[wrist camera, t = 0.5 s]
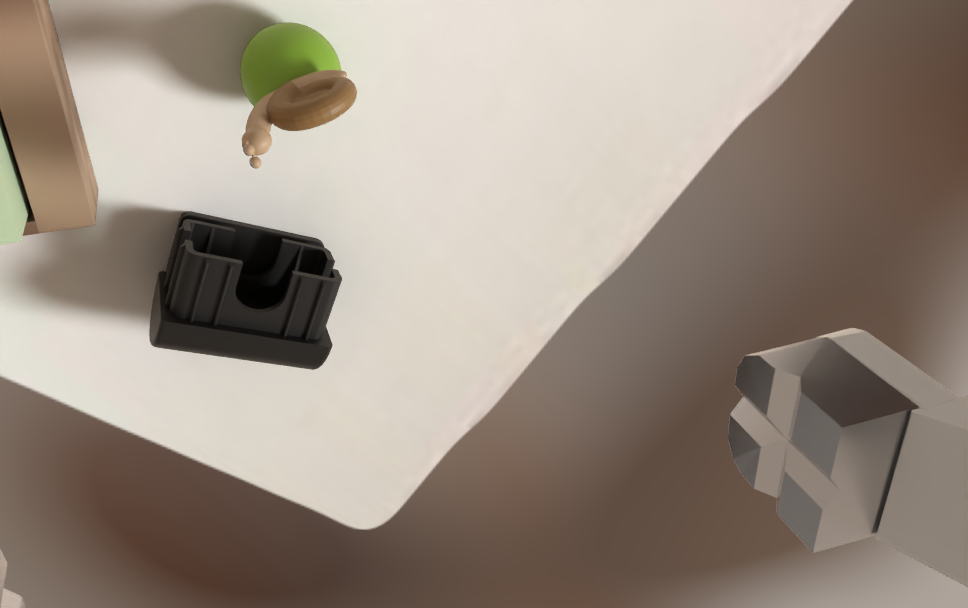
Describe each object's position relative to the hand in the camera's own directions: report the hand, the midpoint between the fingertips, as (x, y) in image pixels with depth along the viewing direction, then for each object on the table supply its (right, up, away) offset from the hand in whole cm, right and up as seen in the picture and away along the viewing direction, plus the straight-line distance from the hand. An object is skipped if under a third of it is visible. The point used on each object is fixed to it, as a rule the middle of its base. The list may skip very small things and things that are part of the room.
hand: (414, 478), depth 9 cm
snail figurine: (-11, +16, +40) cm, 45 cm away
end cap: (-15, +4, +46) cm, 48 cm away
